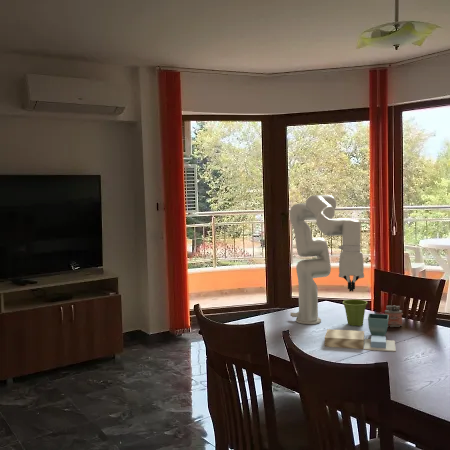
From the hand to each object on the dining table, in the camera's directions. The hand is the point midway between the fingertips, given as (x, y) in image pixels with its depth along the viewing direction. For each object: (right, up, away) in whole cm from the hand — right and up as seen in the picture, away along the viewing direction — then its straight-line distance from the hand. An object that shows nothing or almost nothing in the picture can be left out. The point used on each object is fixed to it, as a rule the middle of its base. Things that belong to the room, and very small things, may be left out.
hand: (351, 290), depth 220 cm
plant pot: (+10, -21, +32) cm, 39 cm away
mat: (+12, -23, -2) cm, 26 cm away
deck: (-2, -23, +2) cm, 23 cm away
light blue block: (+11, -21, -2) cm, 24 cm away
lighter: (+27, -21, +27) cm, 44 cm away
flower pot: (+15, -22, +12) cm, 30 cm away
